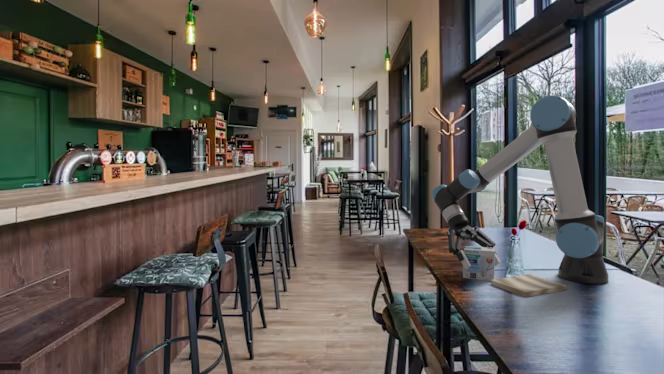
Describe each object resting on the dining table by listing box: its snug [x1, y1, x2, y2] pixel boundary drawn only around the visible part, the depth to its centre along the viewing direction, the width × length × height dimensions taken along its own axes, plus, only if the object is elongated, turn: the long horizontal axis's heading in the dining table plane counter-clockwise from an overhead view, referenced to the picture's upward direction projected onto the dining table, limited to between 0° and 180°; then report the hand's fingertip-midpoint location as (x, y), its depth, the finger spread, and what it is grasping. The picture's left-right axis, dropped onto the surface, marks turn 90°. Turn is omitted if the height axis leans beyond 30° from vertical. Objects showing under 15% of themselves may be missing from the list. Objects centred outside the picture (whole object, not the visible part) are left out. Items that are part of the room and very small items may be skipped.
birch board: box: [490, 273, 567, 298], centre depth 130 cm, size 18×14×2 cm
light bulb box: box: [462, 245, 496, 282], centre depth 141 cm, size 11×7×11 cm, turn 68°
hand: (483, 266), depth 138 cm, fingers open, 13 cm apart
